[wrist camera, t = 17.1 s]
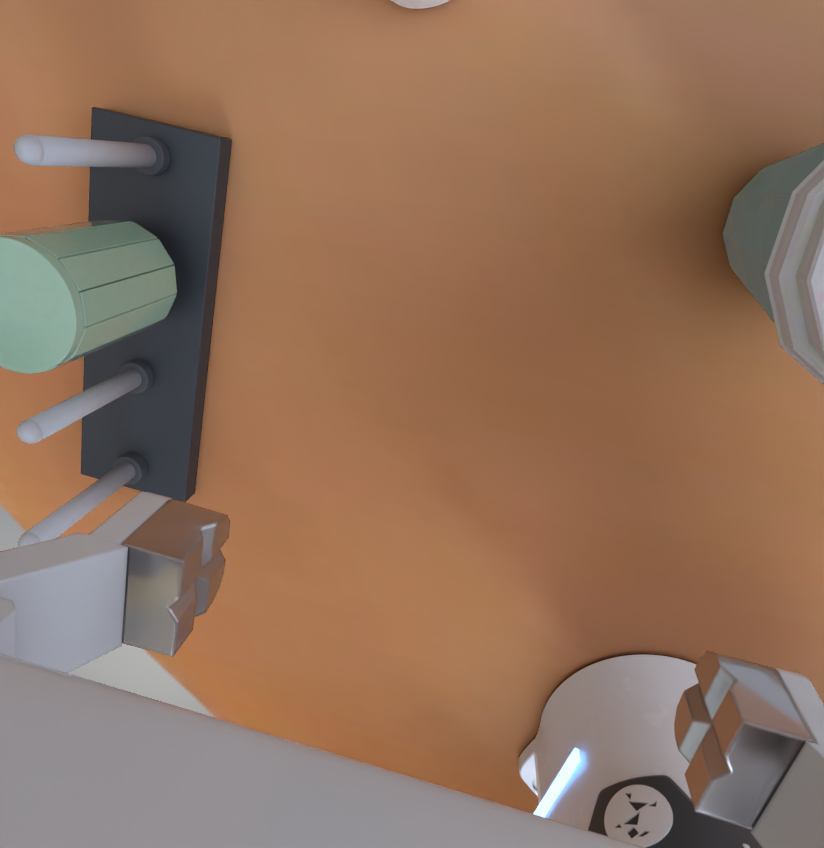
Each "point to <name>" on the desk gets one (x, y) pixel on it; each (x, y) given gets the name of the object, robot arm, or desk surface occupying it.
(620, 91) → the desk surface
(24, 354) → the cup
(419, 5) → the can
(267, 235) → the desk surface
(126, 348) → the dish rack
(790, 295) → the disposable coffee cup
